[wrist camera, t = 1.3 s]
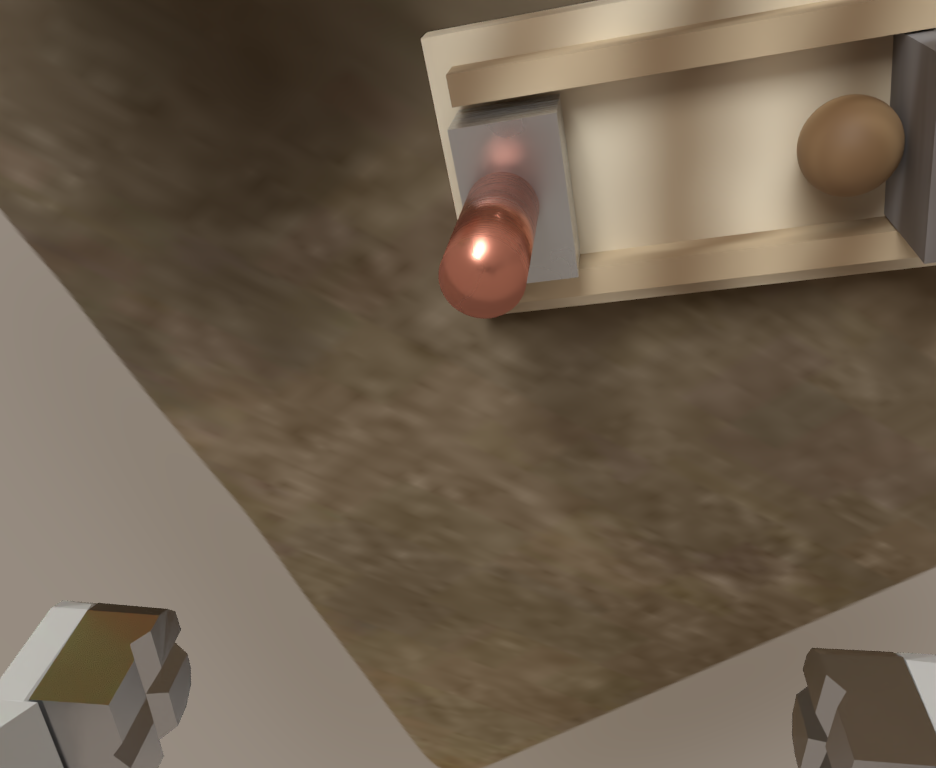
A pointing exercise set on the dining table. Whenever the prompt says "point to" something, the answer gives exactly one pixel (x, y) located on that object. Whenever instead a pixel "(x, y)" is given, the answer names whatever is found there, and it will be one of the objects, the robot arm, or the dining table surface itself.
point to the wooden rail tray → (708, 135)
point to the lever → (509, 205)
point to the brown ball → (850, 145)
